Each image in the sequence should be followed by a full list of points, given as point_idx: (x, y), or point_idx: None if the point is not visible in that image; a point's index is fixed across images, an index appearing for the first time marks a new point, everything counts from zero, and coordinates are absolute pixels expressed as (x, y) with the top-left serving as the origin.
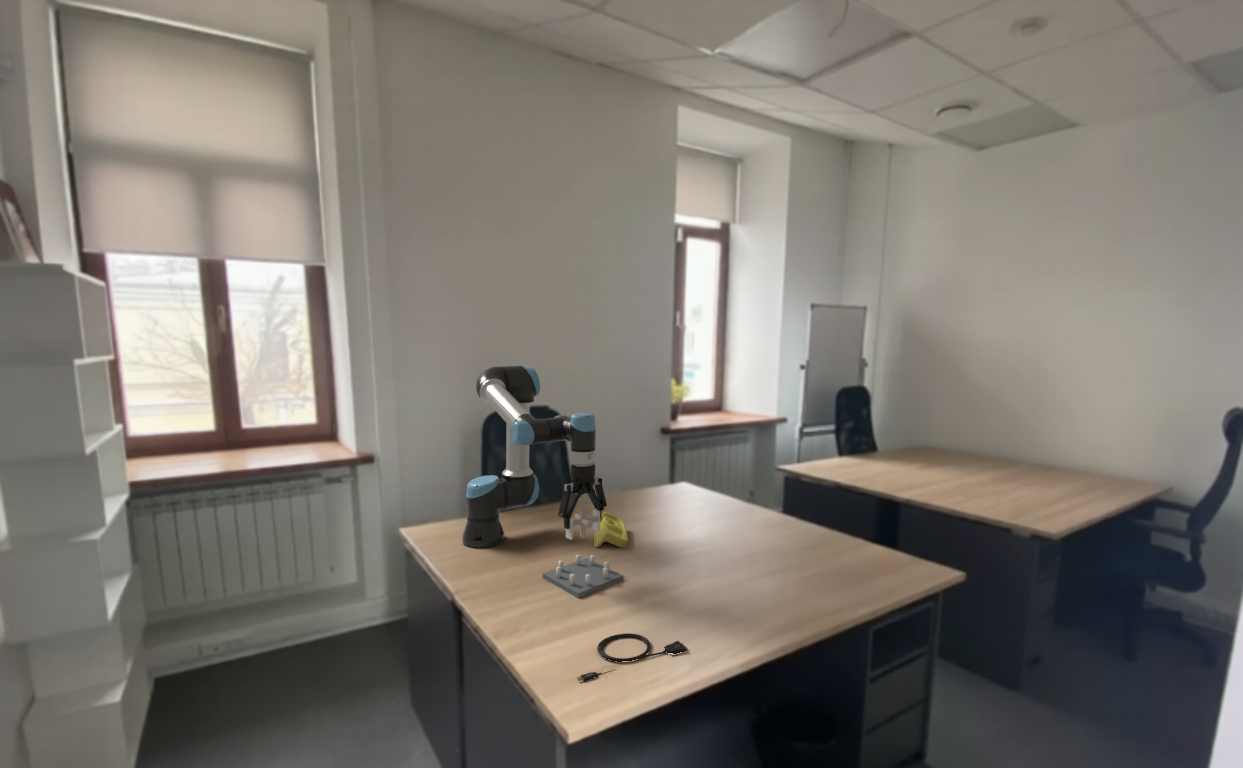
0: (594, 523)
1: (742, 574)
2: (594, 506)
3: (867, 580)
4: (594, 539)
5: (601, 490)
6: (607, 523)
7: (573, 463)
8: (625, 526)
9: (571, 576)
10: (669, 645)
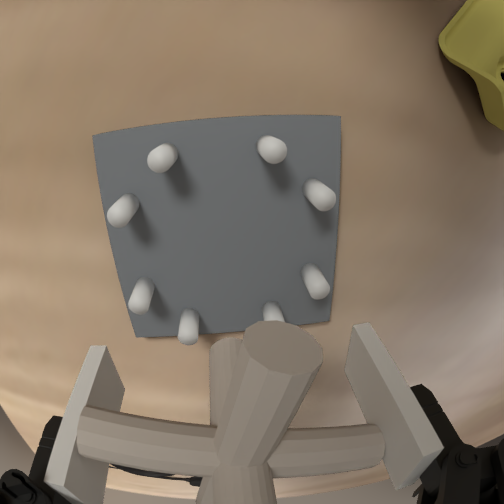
0: (367, 376)
1: (472, 384)
2: (445, 477)
3: (492, 425)
4: (463, 7)
5: None
6: None
7: None
8: None
9: (131, 309)
10: (199, 482)
